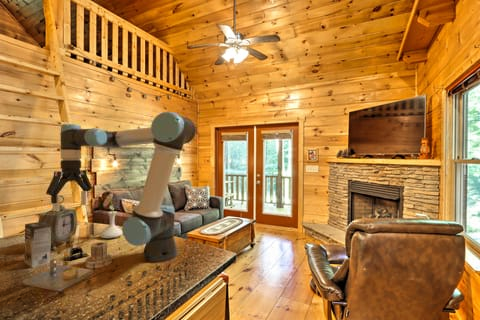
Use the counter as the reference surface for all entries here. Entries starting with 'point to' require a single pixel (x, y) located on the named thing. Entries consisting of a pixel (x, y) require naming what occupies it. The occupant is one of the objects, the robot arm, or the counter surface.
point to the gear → (98, 255)
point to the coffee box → (37, 244)
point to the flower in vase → (111, 222)
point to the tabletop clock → (60, 223)
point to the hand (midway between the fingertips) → (71, 207)
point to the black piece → (75, 257)
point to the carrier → (57, 277)
